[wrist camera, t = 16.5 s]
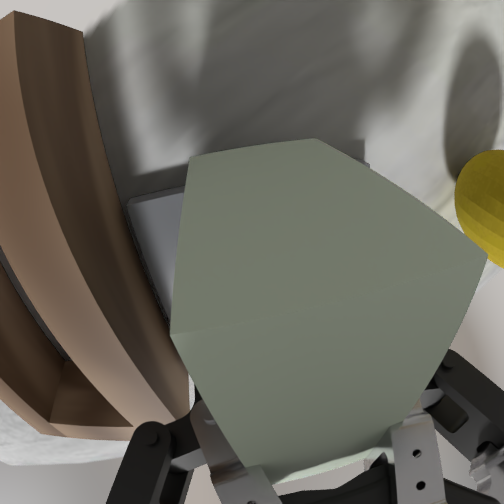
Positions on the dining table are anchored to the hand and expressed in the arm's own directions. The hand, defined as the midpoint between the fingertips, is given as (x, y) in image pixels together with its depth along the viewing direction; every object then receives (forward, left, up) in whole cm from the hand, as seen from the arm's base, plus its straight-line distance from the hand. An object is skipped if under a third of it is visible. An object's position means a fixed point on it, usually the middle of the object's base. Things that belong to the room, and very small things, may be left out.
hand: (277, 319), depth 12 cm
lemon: (+12, +3, -3) cm, 13 cm away
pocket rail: (-11, +3, -3) cm, 12 cm away
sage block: (0, +3, -1) cm, 3 cm away
